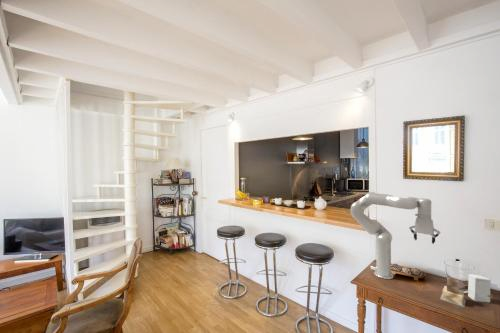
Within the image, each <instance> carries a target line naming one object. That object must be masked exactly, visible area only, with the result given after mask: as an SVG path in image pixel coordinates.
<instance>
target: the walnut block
mask: <svg viewBox="0 0 500 333" xmlns="http://www.w3.org/2000/svg"><path fill="white" fill-rule="evenodd" d="M446 286H447V291H449V292H452V293H455V294H458V292H459V290H460V288H459V280H458V279H454V278H451V276H447V279H446Z"/></svg>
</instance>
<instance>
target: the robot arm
mask: <svg viewBox="0 0 500 333" xmlns="http://www.w3.org/2000/svg"><path fill="white" fill-rule="evenodd" d="M372 205H378V206H385V207H390V208H391V207H392V208H396V209H403V210H414V209H417V213H415V214H414V216H415V217H416V218H415V222H414V225H411V226H409V230H410V232H411V233H412V234H413V239H414V241H417V239H418V234H424V235H429V236H431V244H432V245H434V244H435V243H436V238H437V237H438V236H439V235H441V231H439V229H437V228H435V226H434V220H433V219H432V200H431V199H429V198H418V197H412V196H409V197H407V198H406V197H398V196H393V195H391V194H386V193H378V192H374V191H370V192H367V193H366V194H365V195H364V196H362V197H361V198H359V199H358V200H356V201H355V202H352V204H351V205H350V215H351V216H352V218H353V219H354V221H356V222H357V223H358V224H359V225H360V226H361V228H363V229H364V230H365V231H366V232H367V233H368V234H370V235H371V236H372V235H375V237H376V238H375V246H376V247H375V250H376V256H375V257H376V259H375V260H376V264H375V265H376V266H373V265H370V269H371V270H373V275H375V276H376V277H378V278H380V279H385V280H391V279H394V274H393V273H392V267H391V266H392V241H393V235H392V233H391V232H390V231H389V230H388V229H387V228H386V227H385V226H384V225H383V224H381V223H380V222H379V221H377V220H374V219H370V218H369V217H368V216H367V215H366V214H365V213H364V212H363V211H364V210H366V209H367V208H369V207H370V206H372ZM434 232H436V234H435V233H434ZM417 233H418V234H417Z"/></svg>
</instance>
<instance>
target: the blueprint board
mask: <svg viewBox="0 0 500 333" xmlns="http://www.w3.org/2000/svg"><path fill="white" fill-rule="evenodd" d="M439 299H440V300H442V301H444V302H447V303H450V304H454V305H456V306H460V307H462V308H465V306H466V301H467V299H465V298H464V299H463V304H462V305H459V304H456V303H453V302H450V301H447V300H444V299H442V294H441V295H440V298H439Z"/></svg>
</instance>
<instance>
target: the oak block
mask: <svg viewBox="0 0 500 333" xmlns="http://www.w3.org/2000/svg"><path fill="white" fill-rule="evenodd" d="M441 295H442V299H444V300H447V301H450V302H453V303H456V304H459V305H462V304H463V299H465V298H464V296H465V295H464V290H461V289H459V292H458V294H455V293H452V292H449V291H447V285H444V286H443V288H442V293H441ZM444 300H443V301H444ZM447 301H446V302H447ZM450 302H449V303H450ZM453 303H452V304H453ZM456 304H455V305H456ZM459 305H458V306H459Z"/></svg>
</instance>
